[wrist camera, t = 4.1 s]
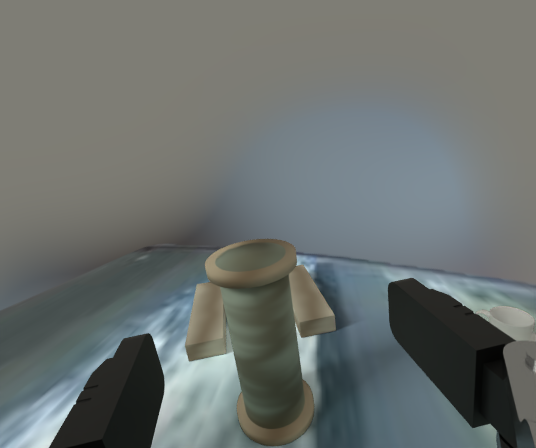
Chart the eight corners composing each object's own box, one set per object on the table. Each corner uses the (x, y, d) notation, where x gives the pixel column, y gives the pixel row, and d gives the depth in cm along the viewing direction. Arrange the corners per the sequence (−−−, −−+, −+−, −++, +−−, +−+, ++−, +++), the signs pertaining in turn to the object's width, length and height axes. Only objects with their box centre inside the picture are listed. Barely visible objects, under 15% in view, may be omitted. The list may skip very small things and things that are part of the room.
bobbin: (240, 455, 22) (201, 285, 18) (236, 386, 28) (207, 247, 24) (324, 434, 22) (306, 265, 18) (303, 371, 28) (285, 233, 24)
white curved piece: (604, 373, 24) (614, 331, 23) (537, 411, 22) (544, 366, 21) (495, 318, 33) (498, 284, 31) (438, 341, 30) (439, 306, 29)
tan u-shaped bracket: (189, 361, 32) (185, 345, 31) (199, 296, 45) (197, 284, 45) (335, 330, 34) (334, 315, 33) (304, 276, 47) (303, 264, 46)
